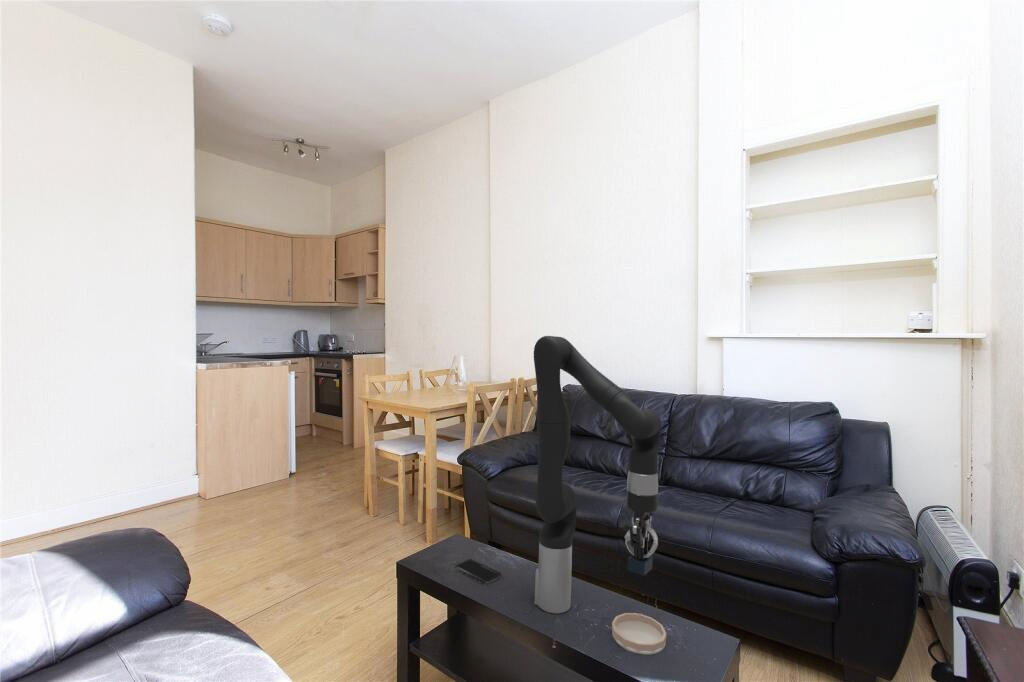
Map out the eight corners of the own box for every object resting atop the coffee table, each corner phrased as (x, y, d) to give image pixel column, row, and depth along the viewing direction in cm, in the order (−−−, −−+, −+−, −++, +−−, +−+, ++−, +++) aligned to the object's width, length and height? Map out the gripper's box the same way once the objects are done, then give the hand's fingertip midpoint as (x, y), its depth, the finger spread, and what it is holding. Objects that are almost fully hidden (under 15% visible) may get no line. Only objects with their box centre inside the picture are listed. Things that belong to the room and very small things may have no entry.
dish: (605, 642, 110) (605, 632, 110) (621, 616, 121) (621, 607, 121) (658, 661, 103) (659, 651, 103) (670, 632, 114) (670, 623, 114)
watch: (628, 560, 117) (631, 517, 117) (659, 571, 112) (661, 526, 112) (619, 567, 112) (622, 522, 113) (651, 578, 107) (653, 532, 108)
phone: (485, 583, 134) (453, 565, 145) (485, 587, 134) (453, 569, 145) (503, 574, 140) (471, 558, 150) (503, 577, 140) (471, 561, 150)
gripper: (635, 480, 121) (633, 544, 121) (619, 493, 109) (617, 565, 108) (663, 485, 117) (662, 551, 117) (650, 499, 105) (649, 574, 105)
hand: (640, 557), depth 113 cm, fingers closed on watch, 3 cm apart
